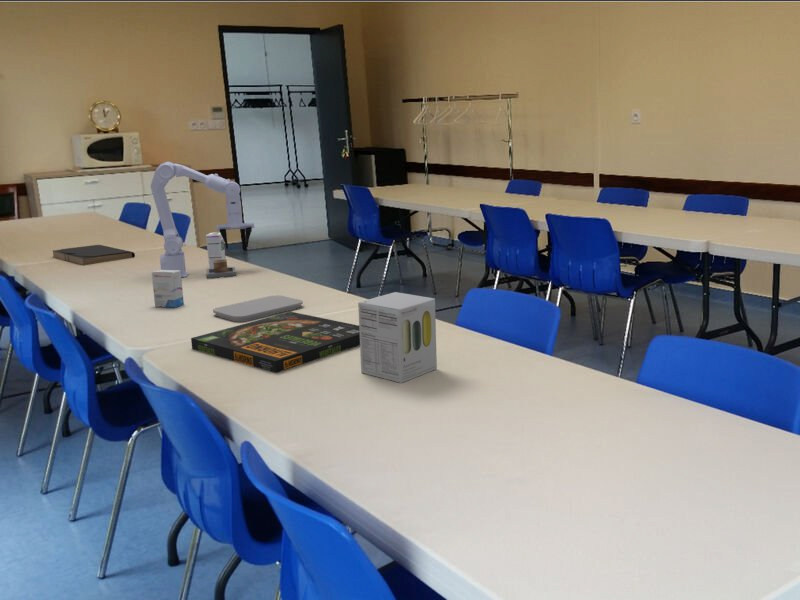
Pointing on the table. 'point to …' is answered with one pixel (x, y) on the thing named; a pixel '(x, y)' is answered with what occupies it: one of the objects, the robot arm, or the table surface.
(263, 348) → the pizza box
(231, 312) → the tablet
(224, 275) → the grey dish
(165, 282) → the ink box
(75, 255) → the file folder
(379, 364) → the supplement box
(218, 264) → the walnut cube
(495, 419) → the table surface
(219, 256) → the syrup box
